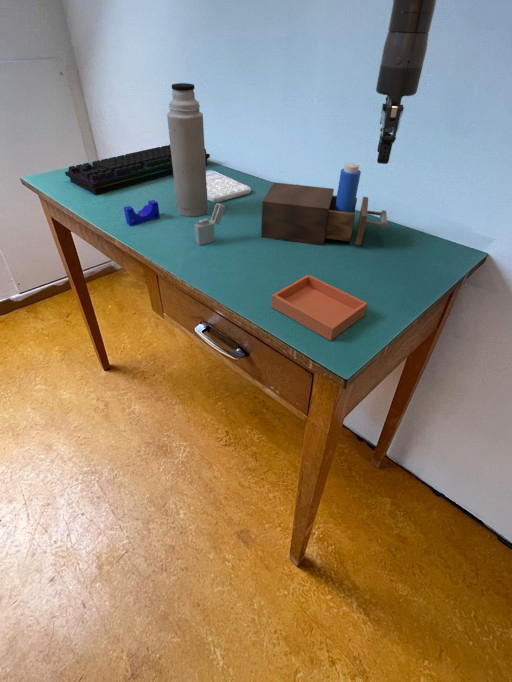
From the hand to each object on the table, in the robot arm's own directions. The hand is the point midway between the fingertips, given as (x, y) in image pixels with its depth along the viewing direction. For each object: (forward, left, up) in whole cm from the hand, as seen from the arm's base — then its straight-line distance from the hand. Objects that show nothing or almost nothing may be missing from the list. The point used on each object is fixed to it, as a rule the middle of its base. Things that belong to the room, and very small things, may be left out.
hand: (382, 157), depth 83 cm
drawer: (+5, +2, -17) cm, 18 cm away
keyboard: (+70, -26, -18) cm, 77 cm away
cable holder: (+54, +7, -18) cm, 58 cm away
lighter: (+34, +13, -18) cm, 41 cm away
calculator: (+44, -19, -18) cm, 52 cm away
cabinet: (+16, +2, -18) cm, 24 cm away
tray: (+7, +34, -18) cm, 39 cm away
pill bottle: (+6, +2, -16) cm, 17 cm away
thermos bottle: (+44, -2, -18) cm, 48 cm away
